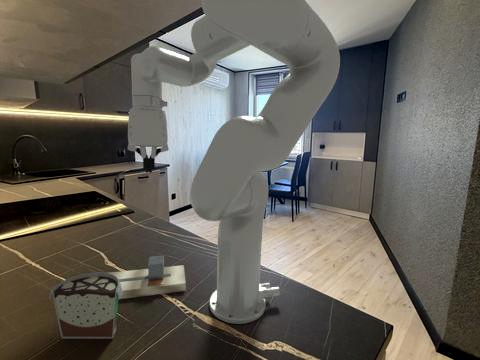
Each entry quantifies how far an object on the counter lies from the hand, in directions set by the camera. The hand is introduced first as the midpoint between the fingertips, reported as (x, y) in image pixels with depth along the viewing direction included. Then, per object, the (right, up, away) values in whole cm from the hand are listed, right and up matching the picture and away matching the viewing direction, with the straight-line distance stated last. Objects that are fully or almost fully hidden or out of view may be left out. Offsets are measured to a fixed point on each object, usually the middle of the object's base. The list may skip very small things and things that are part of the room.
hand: (149, 171), depth 71 cm
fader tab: (+4, -26, -7) cm, 28 cm away
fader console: (0, -29, -8) cm, 30 cm away
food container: (-3, -31, -22) cm, 38 cm away
